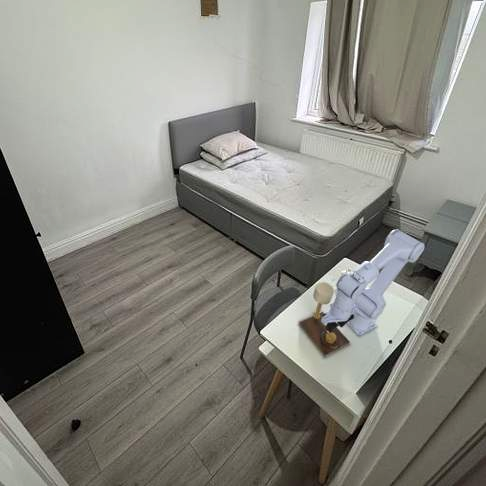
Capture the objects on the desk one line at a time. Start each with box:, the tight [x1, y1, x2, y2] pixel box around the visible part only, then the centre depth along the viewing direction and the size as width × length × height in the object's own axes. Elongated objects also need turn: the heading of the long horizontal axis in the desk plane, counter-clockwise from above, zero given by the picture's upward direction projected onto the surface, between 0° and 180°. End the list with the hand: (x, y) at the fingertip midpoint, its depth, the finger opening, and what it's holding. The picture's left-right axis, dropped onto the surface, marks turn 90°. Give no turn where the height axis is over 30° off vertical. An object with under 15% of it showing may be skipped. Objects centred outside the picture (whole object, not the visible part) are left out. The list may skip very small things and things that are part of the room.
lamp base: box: [298, 311, 351, 358], centre depth 112 cm, size 12×15×4 cm
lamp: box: [312, 281, 335, 319], centre depth 112 cm, size 6×6×17 cm
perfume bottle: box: [335, 267, 353, 293], centre depth 125 cm, size 5×4×15 cm
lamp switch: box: [325, 332, 336, 344], centre depth 108 cm, size 4×4×2 cm
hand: (334, 327), depth 104 cm, fingers open, 4 cm apart
